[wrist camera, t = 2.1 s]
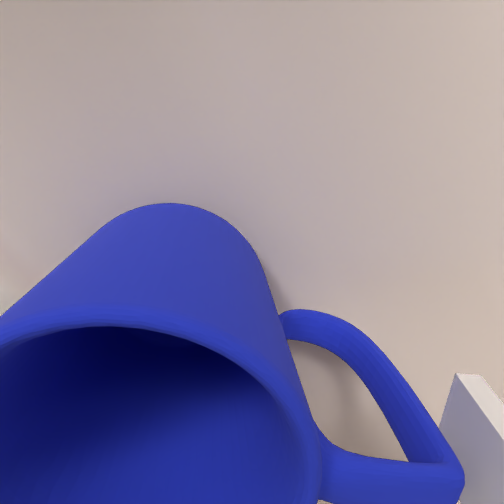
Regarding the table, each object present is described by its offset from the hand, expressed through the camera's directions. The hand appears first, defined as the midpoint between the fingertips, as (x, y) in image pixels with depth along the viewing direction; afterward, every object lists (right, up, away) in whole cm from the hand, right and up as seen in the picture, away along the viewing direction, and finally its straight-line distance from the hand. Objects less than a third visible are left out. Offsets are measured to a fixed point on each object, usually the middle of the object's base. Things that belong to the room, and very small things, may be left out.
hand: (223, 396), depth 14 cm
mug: (0, +3, +6) cm, 6 cm away
